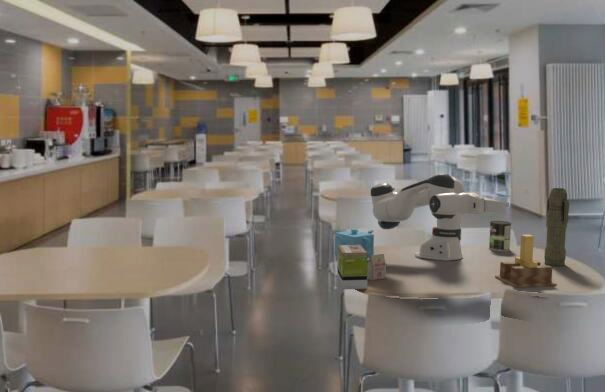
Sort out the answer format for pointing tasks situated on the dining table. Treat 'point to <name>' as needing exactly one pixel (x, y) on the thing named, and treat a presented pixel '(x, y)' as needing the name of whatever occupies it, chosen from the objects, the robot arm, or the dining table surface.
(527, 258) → the yellow tall bar
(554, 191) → the thermos
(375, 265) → the pink milk carton
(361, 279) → the tea box
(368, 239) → the teakettle
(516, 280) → the rack
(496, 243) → the coffee can
